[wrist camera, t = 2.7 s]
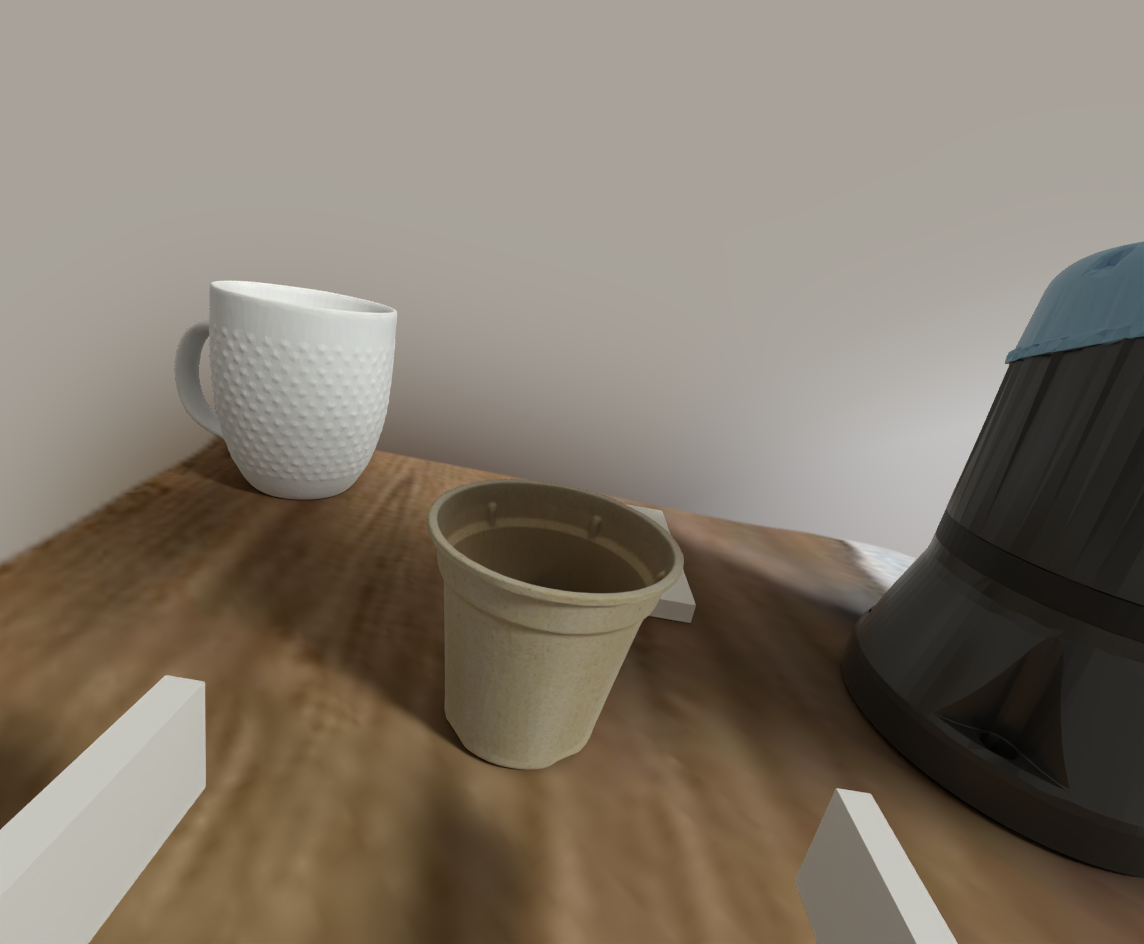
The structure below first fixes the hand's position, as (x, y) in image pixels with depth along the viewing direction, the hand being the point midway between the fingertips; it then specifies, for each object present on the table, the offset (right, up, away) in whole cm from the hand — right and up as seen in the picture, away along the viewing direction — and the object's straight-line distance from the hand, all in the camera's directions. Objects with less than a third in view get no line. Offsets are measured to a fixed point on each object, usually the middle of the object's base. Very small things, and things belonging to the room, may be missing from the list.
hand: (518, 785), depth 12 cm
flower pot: (-1, -4, +12) cm, 12 cm away
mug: (-19, +6, +29) cm, 35 cm away
